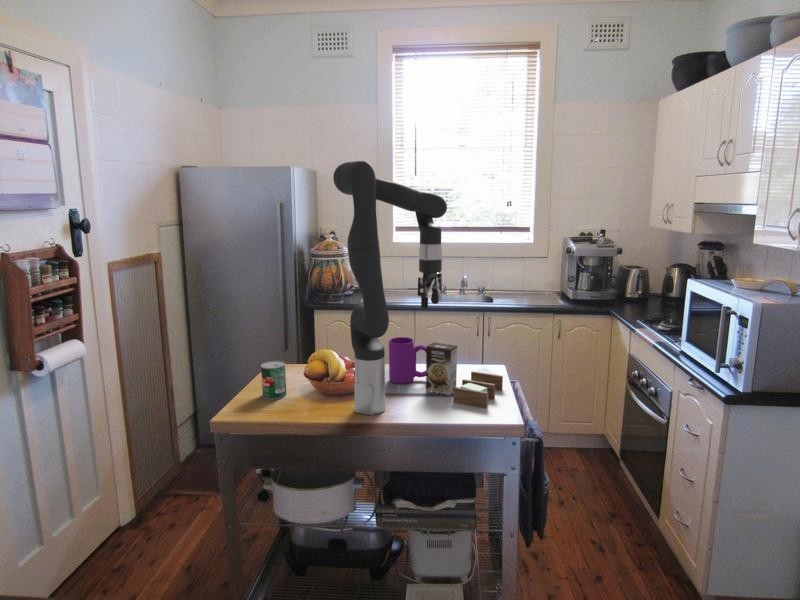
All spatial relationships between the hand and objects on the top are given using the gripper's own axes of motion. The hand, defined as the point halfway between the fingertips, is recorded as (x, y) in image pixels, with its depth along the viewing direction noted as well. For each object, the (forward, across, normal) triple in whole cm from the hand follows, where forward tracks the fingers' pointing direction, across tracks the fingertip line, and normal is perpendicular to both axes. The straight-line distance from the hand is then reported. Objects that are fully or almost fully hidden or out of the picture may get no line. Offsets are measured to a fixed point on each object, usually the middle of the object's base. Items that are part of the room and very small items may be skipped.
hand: (429, 305), depth 176 cm
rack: (+29, -2, +17) cm, 34 cm away
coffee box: (+30, 0, +4) cm, 30 cm away
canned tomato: (+30, +28, -44) cm, 60 cm away
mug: (+30, -5, -10) cm, 31 cm away
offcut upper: (+27, +3, +17) cm, 32 cm away
